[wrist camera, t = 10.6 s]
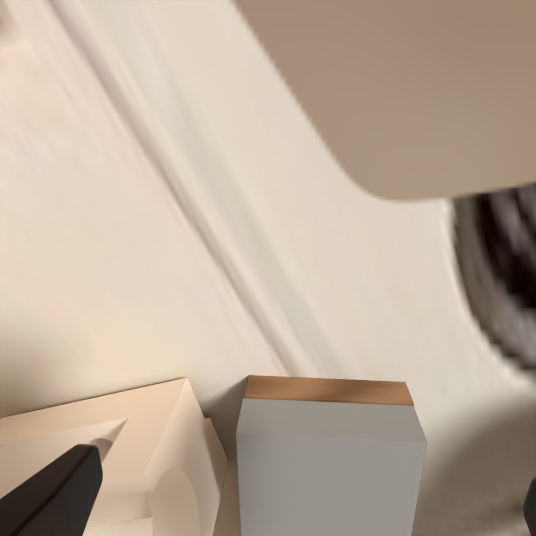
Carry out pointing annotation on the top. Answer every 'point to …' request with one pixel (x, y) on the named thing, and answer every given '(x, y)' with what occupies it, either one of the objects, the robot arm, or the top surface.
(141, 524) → the top surface
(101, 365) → the top surface
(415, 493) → the slate slab
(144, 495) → the bracket
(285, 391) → the walnut slab
